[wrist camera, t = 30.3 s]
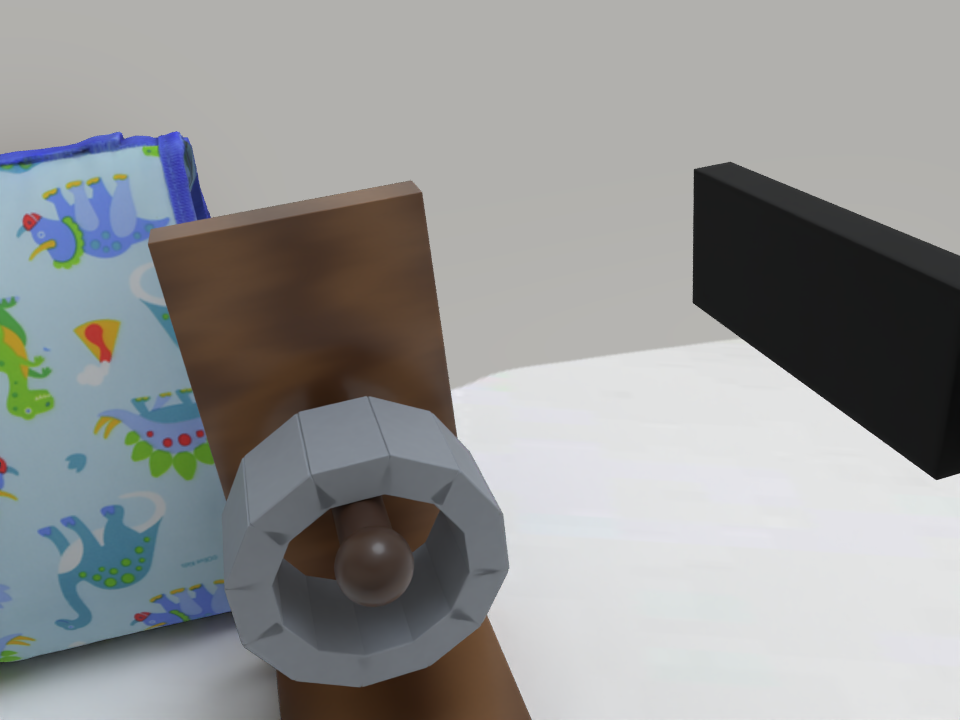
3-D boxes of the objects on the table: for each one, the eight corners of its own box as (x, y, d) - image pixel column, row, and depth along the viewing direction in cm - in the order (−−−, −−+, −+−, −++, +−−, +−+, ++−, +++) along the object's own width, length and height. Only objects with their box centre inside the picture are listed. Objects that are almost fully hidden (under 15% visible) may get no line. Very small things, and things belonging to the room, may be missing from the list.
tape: (265, 717, 35) (196, 502, 30) (258, 636, 39) (196, 435, 34) (517, 640, 37) (493, 428, 32) (486, 570, 41) (460, 373, 36)
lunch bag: (283, 460, 63) (188, 96, 50) (304, 615, 48) (178, 158, 36) (-42, 539, 58) (-231, 161, 46) (-126, 734, 44) (-432, 261, 32)
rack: (304, 892, 34) (124, 370, 23) (278, 653, 46) (149, 228, 35) (559, 802, 37) (508, 287, 25) (473, 596, 48) (411, 179, 37)
